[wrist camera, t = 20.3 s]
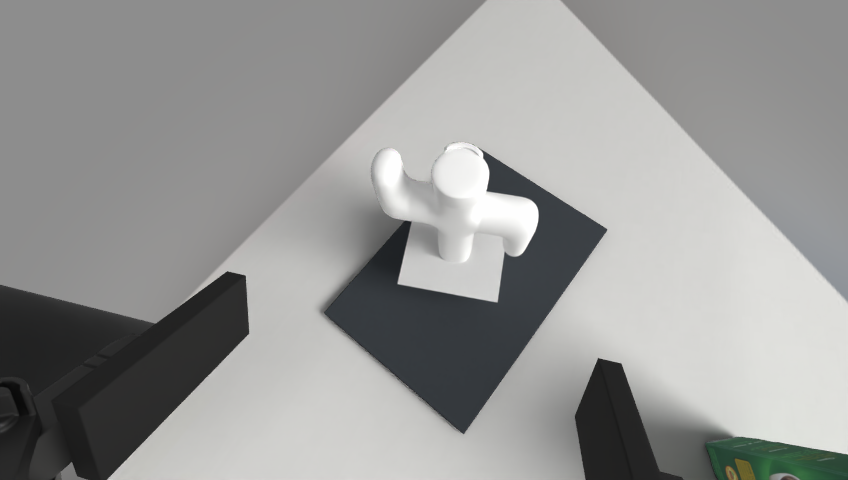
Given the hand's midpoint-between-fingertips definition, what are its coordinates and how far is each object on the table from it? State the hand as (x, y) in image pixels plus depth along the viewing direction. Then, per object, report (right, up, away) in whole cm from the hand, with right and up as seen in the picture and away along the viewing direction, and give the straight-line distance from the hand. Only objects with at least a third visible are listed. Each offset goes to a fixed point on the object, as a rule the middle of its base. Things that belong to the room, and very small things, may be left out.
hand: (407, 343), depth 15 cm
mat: (+4, +1, +19) cm, 19 cm away
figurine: (+3, +2, +19) cm, 19 cm away
